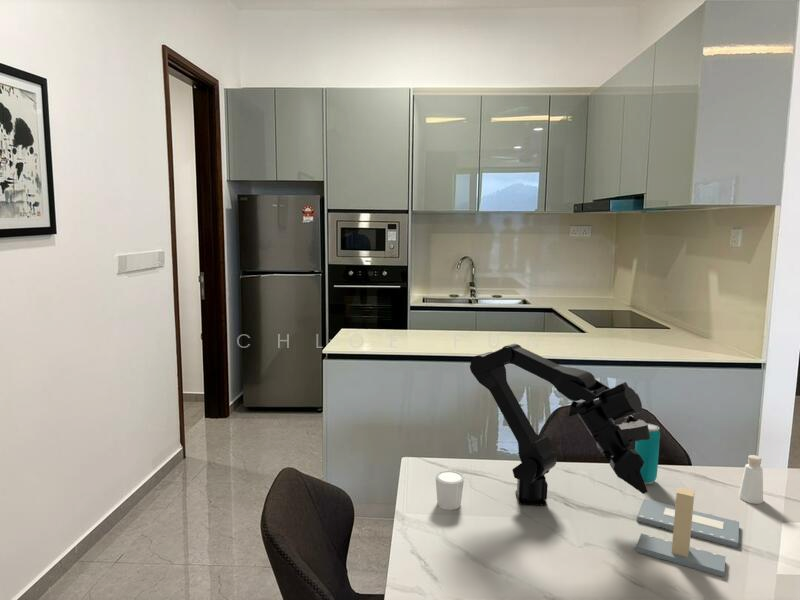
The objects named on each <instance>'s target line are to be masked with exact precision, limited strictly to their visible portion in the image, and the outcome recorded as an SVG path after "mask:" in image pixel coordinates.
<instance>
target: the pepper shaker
mask: <svg viewBox="0 0 800 600" xmlns="http://www.w3.org/2000/svg"><path fill="white" fill-rule="evenodd" d="M747 458H748V460H747V461H748V462H747V463H746V464H745V465H744V470H743V472H742V473H743V474H742V478H741V481H740V487H739V489H738V490H739V491H738V498H739V499H740V500H742V501H744V502H746V503H748V504H755V505H759V504H762V503H764V473H763V472H764V471H763V468H762V466H761V465H762V457H760V456H759V455H756V454H749V455H748V457H747Z"/></svg>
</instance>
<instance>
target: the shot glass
mask: <svg viewBox="0 0 800 600" xmlns="http://www.w3.org/2000/svg"><path fill="white" fill-rule="evenodd" d="M464 483H465V476H464V474H462V473H460V472H458V471H454V470H442V471H439V472H438V473H436V475H435V488H436V501H437V504H436V505H438V507H439V508H440V509H444V510H448V511H452V510H457V509H459V508H460V507H461V506H462V498H463V489H464Z"/></svg>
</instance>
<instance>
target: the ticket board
mask: <svg viewBox="0 0 800 600" xmlns="http://www.w3.org/2000/svg"><path fill="white" fill-rule="evenodd" d="M675 506H676V505H672V504H667V503H664V502H659V501H655V500H652V499H647V498H644V499H643V501H642V503H641V505H640V508H639V511H638V513H637V515H636V522H638V523H643V524H646V525H650V526H653V527H657V528H660V527H662V528H661V529H664V528H665V529H664V530H668V529H669V531H672V530H673V529H674V518H675ZM739 534H740V521H736V520H733V519H730V518H724V517H722V516H716V515H712V514H709V513H704V512H701V511H697V510H693V515H692V526H691V536H692V537H694V538H699V539H702V540H706V541H710V542H714V543H717V544H721V545H725V546H728V547H732V548H737V549H738V548H739V536H740V535H739Z"/></svg>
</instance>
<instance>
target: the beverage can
mask: <svg viewBox="0 0 800 600" xmlns="http://www.w3.org/2000/svg"><path fill="white" fill-rule="evenodd" d="M646 423H647V422H646ZM647 424H648V429H649V433H650V437H651V438H650V439H649V440H639V441H635V444H634V446H635V447H634V450H636V451H637V453H638V454H639V455H640V456H641V458H642V459H643V461H644V462H645V463H644V465H643V467H642V468H641V471H640V472H641V475H642V478H643V480H644V483H645V485H653V484H654V483H655V481H656V479H657V477H658V468H659V467H658V466H659V452H660V442H661V441H660V440H661V432H660V427H659V426H658V425H657V424H652V423H650V422H649V423H647Z"/></svg>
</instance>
